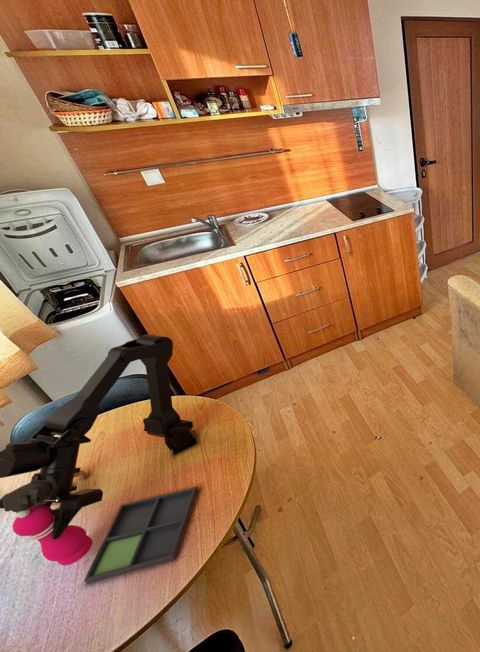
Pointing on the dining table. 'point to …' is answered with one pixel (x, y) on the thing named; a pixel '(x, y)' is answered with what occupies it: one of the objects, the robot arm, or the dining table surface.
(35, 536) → the pepper mill
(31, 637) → the dining table surface
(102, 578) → the grid
